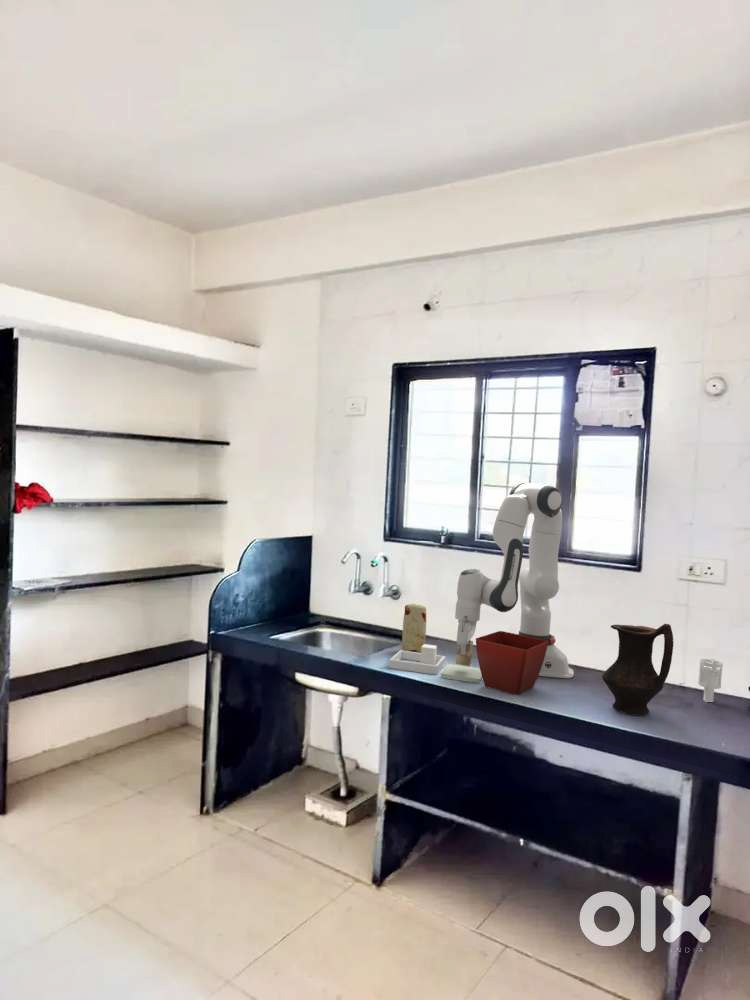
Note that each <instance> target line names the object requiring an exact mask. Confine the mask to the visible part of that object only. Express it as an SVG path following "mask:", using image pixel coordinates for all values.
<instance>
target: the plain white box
mask: <svg viewBox="0 0 750 1000" xmlns="http://www.w3.org/2000/svg"><path fill="white" fill-rule="evenodd" d="M437 653H438V645H433V644H428V643H425V644H424V645H423V646H422V647H421V660H420V661H419V663H421V664H428V665H436V657H437V655H438V654H437Z"/></svg>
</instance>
